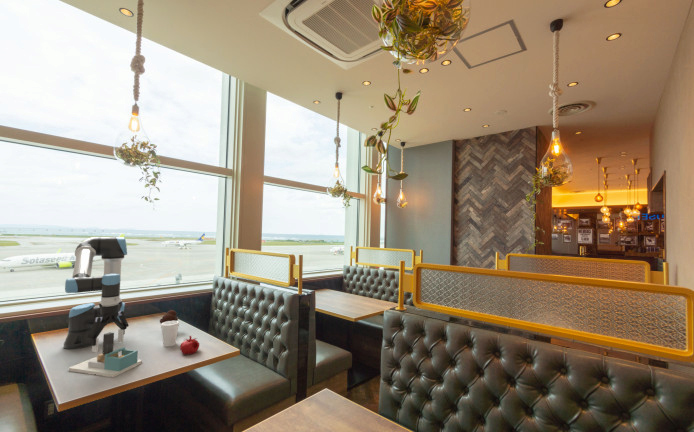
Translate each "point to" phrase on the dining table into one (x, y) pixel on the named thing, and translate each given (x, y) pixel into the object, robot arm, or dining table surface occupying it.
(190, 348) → the pomegranate
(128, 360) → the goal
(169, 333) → the foam cup
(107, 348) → the block
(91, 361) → the board
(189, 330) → the dining table surface
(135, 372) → the dining table surface
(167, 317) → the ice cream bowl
